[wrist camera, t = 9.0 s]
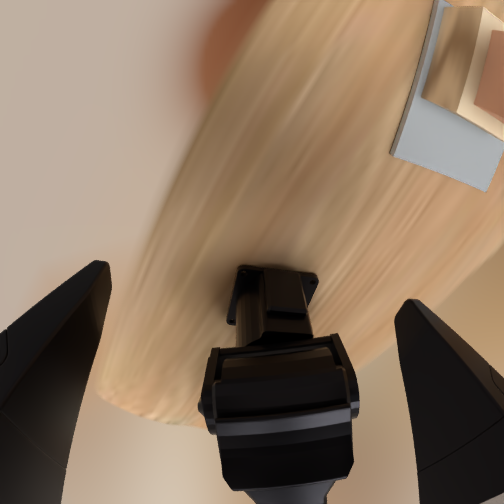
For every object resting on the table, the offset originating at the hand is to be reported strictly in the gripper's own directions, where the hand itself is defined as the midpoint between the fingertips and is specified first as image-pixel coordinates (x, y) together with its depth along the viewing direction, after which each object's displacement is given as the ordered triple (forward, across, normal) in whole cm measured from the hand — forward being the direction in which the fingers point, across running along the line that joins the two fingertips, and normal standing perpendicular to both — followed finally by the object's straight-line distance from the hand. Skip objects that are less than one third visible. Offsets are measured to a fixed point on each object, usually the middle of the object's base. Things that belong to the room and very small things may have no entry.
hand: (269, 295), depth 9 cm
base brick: (+12, -13, -10) cm, 20 cm away
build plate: (+12, -14, -8) cm, 20 cm away
